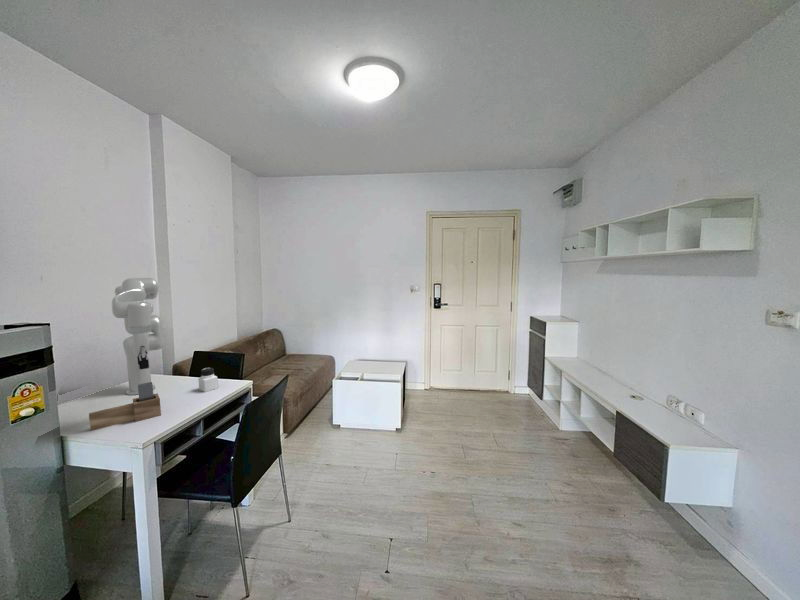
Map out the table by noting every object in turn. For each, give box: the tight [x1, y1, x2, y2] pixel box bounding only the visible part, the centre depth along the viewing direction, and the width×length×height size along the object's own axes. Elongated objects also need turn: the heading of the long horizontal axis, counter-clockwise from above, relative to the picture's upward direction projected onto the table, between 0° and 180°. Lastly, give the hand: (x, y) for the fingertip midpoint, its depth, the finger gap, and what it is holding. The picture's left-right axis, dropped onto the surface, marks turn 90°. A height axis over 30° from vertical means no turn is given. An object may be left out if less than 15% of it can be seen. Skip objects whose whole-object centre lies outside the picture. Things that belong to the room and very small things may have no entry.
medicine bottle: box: [198, 367, 219, 393], centre depth 170 cm, size 7×7×12 cm
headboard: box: [88, 392, 162, 432], centre depth 134 cm, size 9×23×8 cm, turn 134°
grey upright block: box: [137, 381, 154, 402], centre depth 138 cm, size 3×5×12 cm, turn 134°
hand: (143, 366), depth 137 cm, fingers open, 9 cm apart
